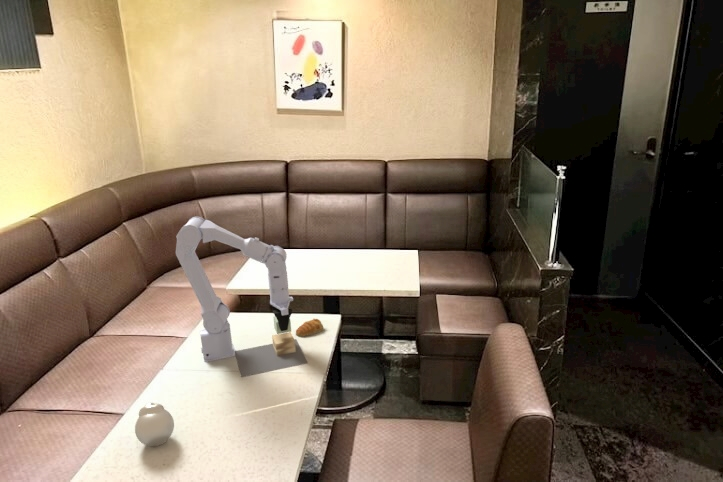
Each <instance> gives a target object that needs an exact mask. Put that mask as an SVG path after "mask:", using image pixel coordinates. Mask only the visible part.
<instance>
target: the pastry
mask: <svg viewBox="0 0 723 482" xmlns="http://www.w3.org/2000/svg"><path fill="white" fill-rule="evenodd" d="M324 329H325V327H324V325H323V323H322V321H321V320H320V319H318V318H313V319H310V320H307V321H305V322H303V324H301V325H299V327H297V329H296V330H295V335H296V336H297V337H301V338H302V337H307V336H308V337H309V336H312V335H315V334H318V333H320V332H323V331H324Z"/></svg>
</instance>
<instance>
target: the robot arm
mask: <svg viewBox="0 0 723 482" xmlns="http://www.w3.org/2000/svg"><path fill="white" fill-rule="evenodd" d="M175 238H176V244H175V246H176V247H175V256H176V258H177V260H178V261H179V264H180V267H181V268H182V270H183V272H184V274H185V275H186V278H187V280H188V282H189V284H190V286H191V288H192V290H193V291H194V294H195V296H196V298H197V300H198V303H199V305H200V313H201V314H200V315H201V317H202V320H203V322H202V325H203V328H204V329H201V330H199V335H200V336H199V337H200V340H201V341H200V342H201V347H200V349H201V351H200V352H201V354H203V361H204V362H205V363H206V362H207V363H208V362H211V361H217V360H222V359H226V358H230V357H233V358H234V357H236V355H235V351H236V350H235V347H234V344H233V340H232V333H231V332H232V331H231V325H230V323H229V320H228V318H229V317H230V313H231V312H230V311H231V310H230V308H229V306H228V305H227V304H225V302H223V300H222V298H221V297H219V296H217V294H216V292H215V290H214V288H213V286H212V284H211V282H210V280H209V278H208V276H207V275H208V274H207V273H206V271H205V270H204V267H203V265H202V262H201V261H200V259H199V257H198V254H197V253H196V249H197V247H198V245H199V243H200V242H201V240H202V243H203V244H206V243H209V242H212V241H216V242H219V243H222V244H224V245H228V246H229V247H233V248H235V249H238V250H240V251H241V254H242V255H243V256H244V257H248V258H249V259H251V260H254V261H256V262H259V263H260V264H261V263H262V264H264V265H265V267H266V268H267V278H268V286H269V296H270V297H269V298H270V299H269V306H270V308H271V309H272V313H273V315H274V316H276V318H277V320H278V324H279V328H280V330H281V331H285V330H288V324H289V319H290V320H291V316H292V314H293V309H292V308H289V306H290V303H291V302H293V301H294V298H293V296H290V291H289V280H288V279H289V278H288V270H287V266H286V265H287V264H286V263H287V262H286V261H287V252H286V251H285V249H284V248H283V247H281V246H279V245H273V244H270V245H269V244H267V243H265V242H263V241H260V238H259V237H248V238H243V237H241V236H240V235H238V234H236V233H233V232H232V231H229V230H227V229H225V228H223V227H222V226H220V225H217V224H216V223H214V222H212V221H211V220H208V219H205V218H203V217H201V216H193V217H191V218H189V220H188V221H187V223H185V224H184V225H183V226H182V227H181V228H180V230H179V231H178V233H177V234H176V236H175Z"/></svg>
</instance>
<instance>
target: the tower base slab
mask: <svg viewBox="0 0 723 482" xmlns="http://www.w3.org/2000/svg"><path fill="white" fill-rule="evenodd" d="M272 344H273V347H274V350H275V352H276V355H277V356H278V355H282V354H287V353H292V352H296V349H295V346H294V347H289V348H284V349H279V350H276V348H275V346H274V343H273V342H272Z"/></svg>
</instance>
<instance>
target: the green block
mask: <svg viewBox="0 0 723 482" xmlns="http://www.w3.org/2000/svg"><path fill="white" fill-rule="evenodd" d="M273 326H274V328H273V329H274V331H275V332H276V335H278V334H283V333H288V332H291V333H292V325H291V318H290V319H289V324H288V330H285V331H281V330H280V328H279V324H278V320H277V318H276V316H275V315H274V316H273Z"/></svg>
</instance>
